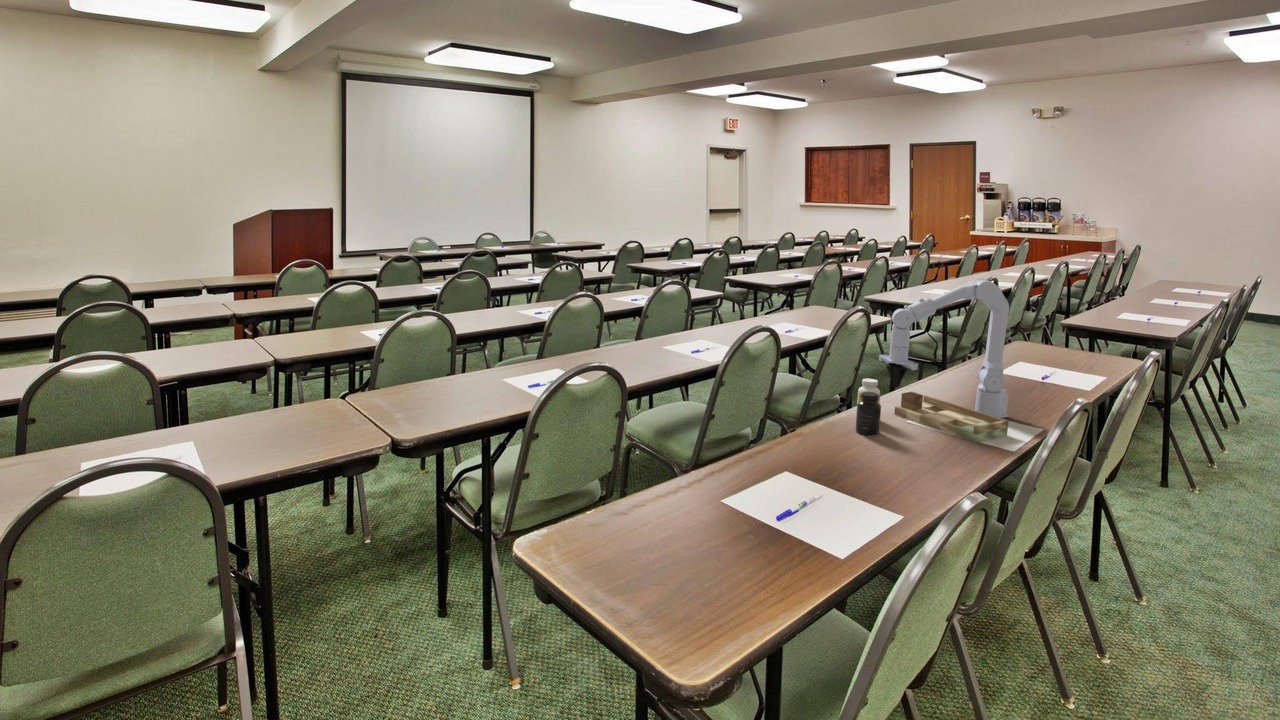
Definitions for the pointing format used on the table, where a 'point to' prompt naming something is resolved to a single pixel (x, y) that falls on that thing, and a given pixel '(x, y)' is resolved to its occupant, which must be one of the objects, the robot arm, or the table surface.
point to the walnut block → (911, 400)
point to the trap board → (956, 420)
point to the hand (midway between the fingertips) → (895, 386)
